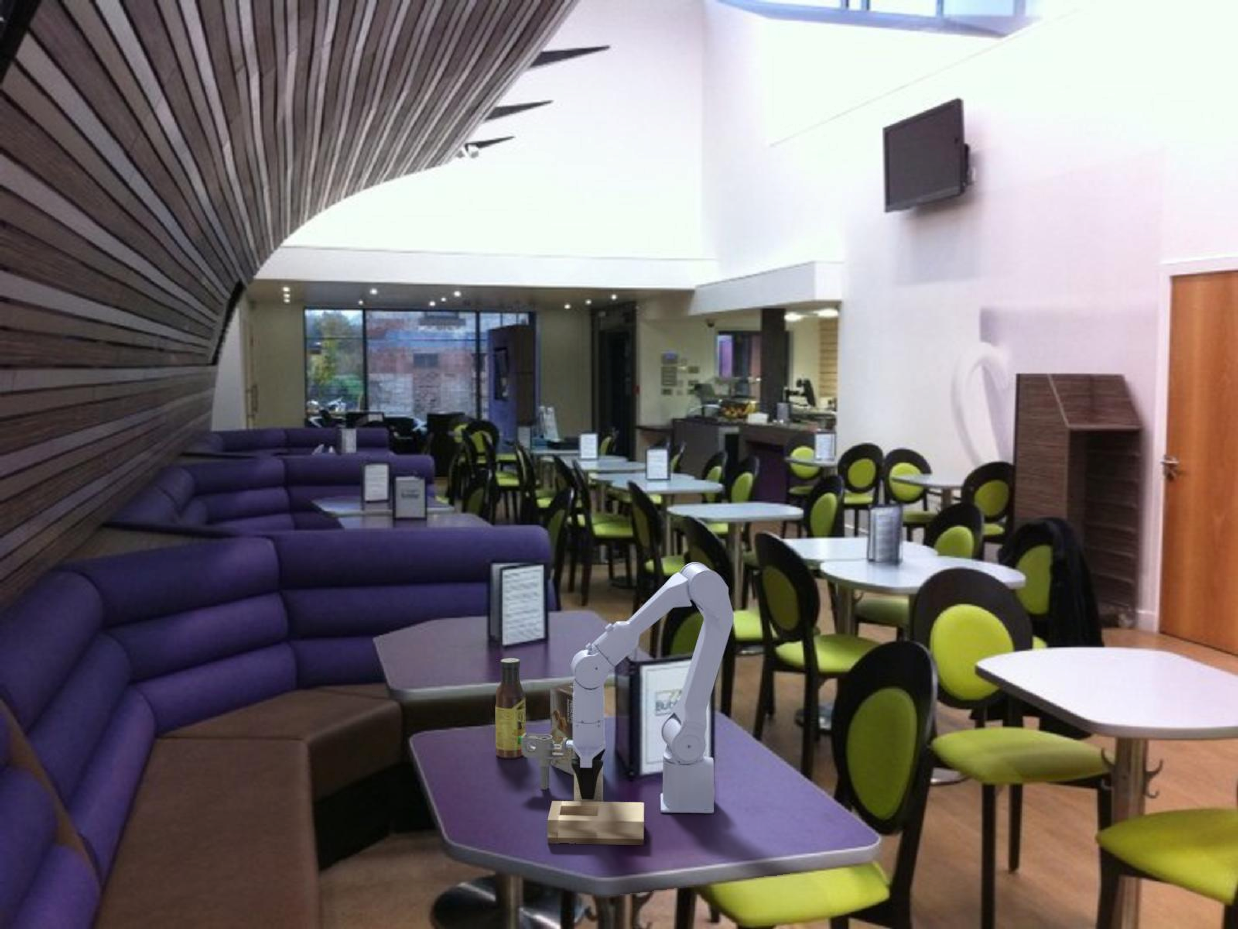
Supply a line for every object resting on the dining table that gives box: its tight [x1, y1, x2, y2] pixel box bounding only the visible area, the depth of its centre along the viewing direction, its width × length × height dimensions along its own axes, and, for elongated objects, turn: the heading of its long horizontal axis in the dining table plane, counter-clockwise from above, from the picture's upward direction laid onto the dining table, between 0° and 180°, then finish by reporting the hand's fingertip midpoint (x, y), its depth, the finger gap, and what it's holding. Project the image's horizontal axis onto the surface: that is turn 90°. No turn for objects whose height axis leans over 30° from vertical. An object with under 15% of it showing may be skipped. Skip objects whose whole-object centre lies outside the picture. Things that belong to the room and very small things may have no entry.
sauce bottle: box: [494, 657, 527, 759], centre depth 214 cm, size 6×6×20 cm
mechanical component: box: [518, 732, 570, 791], centre depth 196 cm, size 3×10×10 cm, turn 78°
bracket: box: [573, 759, 604, 802], centre depth 185 cm, size 5×2×9 cm, turn 88°
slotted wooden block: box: [547, 800, 645, 846], centre depth 176 cm, size 16×8×4 cm, turn 88°
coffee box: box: [549, 681, 578, 776], centre depth 206 cm, size 9×6×16 cm
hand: (588, 792), depth 185 cm, fingers open, 5 cm apart
